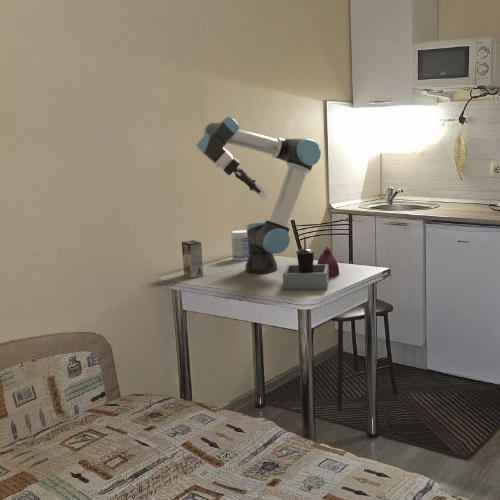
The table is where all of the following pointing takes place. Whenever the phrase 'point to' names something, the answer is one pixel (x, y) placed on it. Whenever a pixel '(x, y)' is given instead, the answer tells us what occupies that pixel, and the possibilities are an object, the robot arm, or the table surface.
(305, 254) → the drinking cup
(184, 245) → the coffee box
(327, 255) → the vegetable
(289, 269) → the bin
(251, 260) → the robot arm
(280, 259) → the table surface
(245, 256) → the supplement tub
